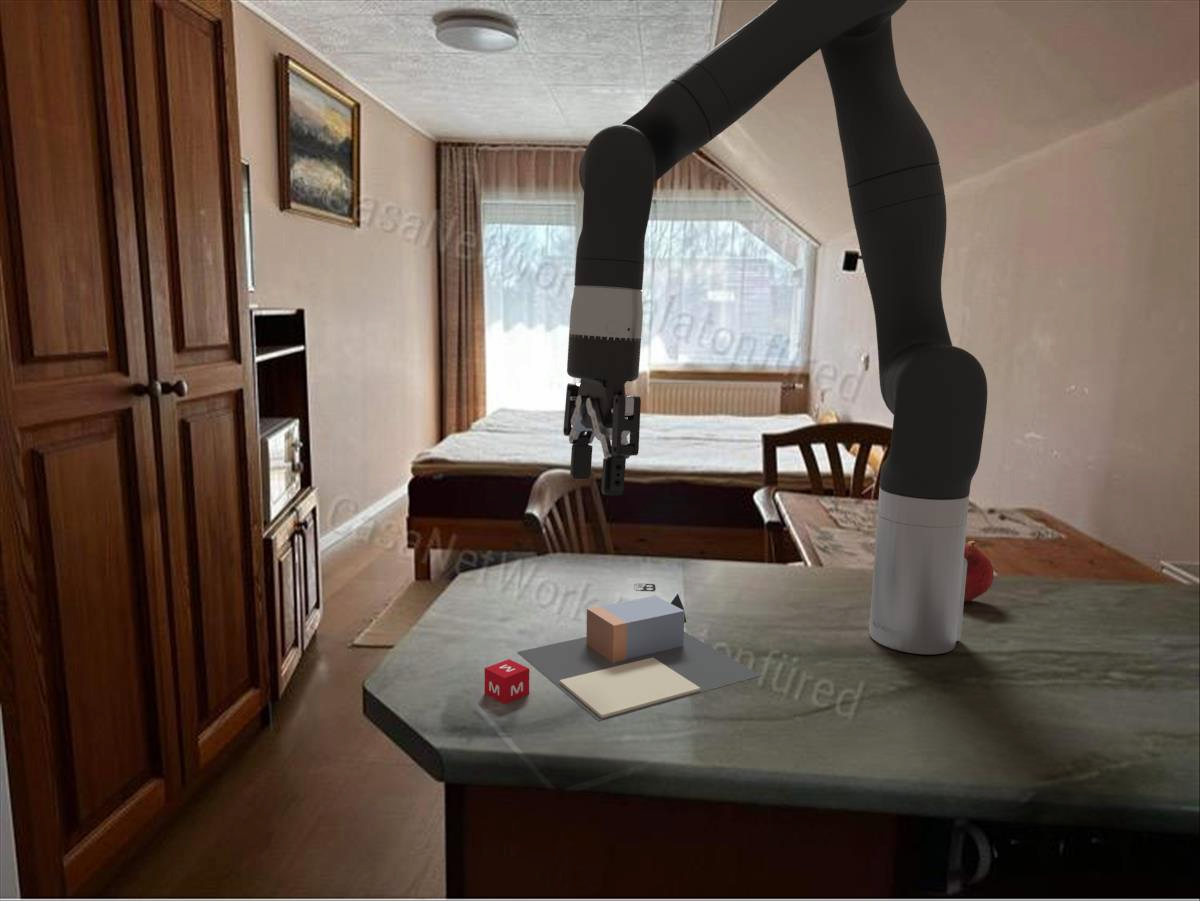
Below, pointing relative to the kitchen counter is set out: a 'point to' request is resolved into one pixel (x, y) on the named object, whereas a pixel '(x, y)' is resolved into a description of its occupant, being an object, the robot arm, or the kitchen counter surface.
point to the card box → (634, 628)
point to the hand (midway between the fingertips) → (595, 486)
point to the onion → (977, 572)
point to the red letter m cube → (506, 681)
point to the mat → (634, 675)
